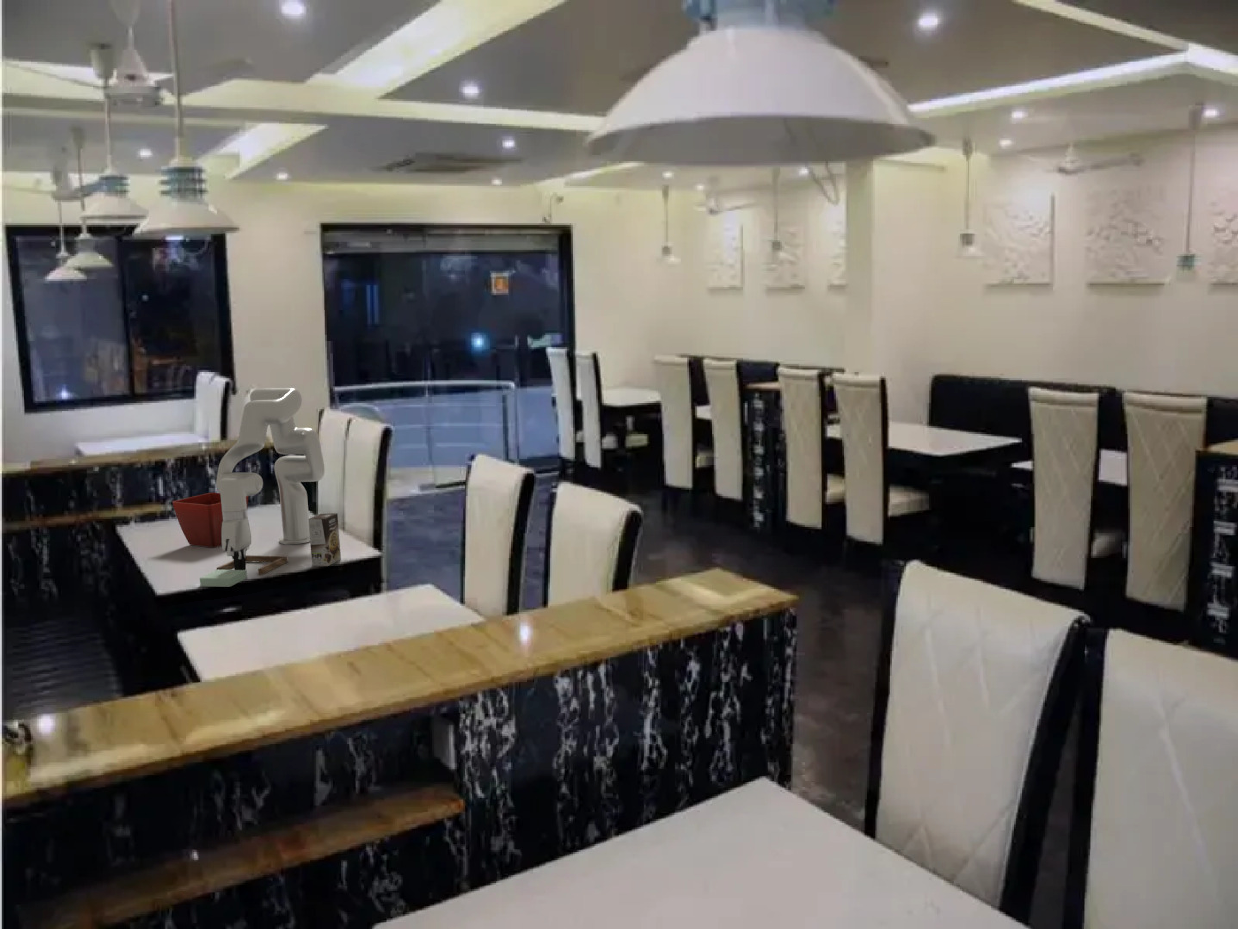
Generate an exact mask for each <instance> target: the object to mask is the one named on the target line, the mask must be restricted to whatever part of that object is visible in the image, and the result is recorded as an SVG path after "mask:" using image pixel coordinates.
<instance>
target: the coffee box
mask: <svg viewBox="0 0 1238 929" xmlns="http://www.w3.org/2000/svg"><path fill="white" fill-rule="evenodd" d="M309 532H310V542H309V543H310V546H309V547H310V555H311V566H315V567H316V566H317V567H319V566H321V567H328V566H331V565H333V564H335V563H336V562H338V561H340V560H342V554H341V553H342V552H341V542H340V529H339V516H338V513H336V512H335V513H330V512H329V513H328V512H327V513H320V514H316V515H314V516H312V517H309Z"/></svg>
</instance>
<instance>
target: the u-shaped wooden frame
mask: <svg viewBox="0 0 1238 929" xmlns="http://www.w3.org/2000/svg"><path fill="white" fill-rule="evenodd" d="M245 561H259V562H258V563H267V564H265V565H263V566H262V567H259V568H258V569H257V572H258V576H263V575H265V574H266V573H269V572H271V571H272V570H275V569H276V568H278V567H280V565H281V566H282V564H283V565H285V564H287V563H288V556H284V555H256V554H255V555H253V554H252V555H250V554H249V555H248V554H246V557H245ZM233 567H234V560H233V559H232V560H231V561H229V562H226V563H224V564H222V565H219V566H217V567H216V570H232V569H234V568H233Z"/></svg>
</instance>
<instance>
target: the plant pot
mask: <svg viewBox="0 0 1238 929" xmlns="http://www.w3.org/2000/svg"><path fill="white" fill-rule="evenodd" d="M246 504H247V507H248V506H249V505H248V504H249V496H246ZM172 506H173V509H174V510H173V511H174V513H175V516H176V519H177V522H178V524H179V526H180V529H181V531H182V532H183V535H184V537H185V539H186V541H187V542H188V544H189V545H190V546H198V547H206V548H212V547H213V548H217V546H218V547H222V522H223V515H222V505H221V495H220V493H219V492H208V493H204V494H200V495H196V496H195V495H194V496H190V497H187V498H182V499H178V500H174V501H173V500H172Z"/></svg>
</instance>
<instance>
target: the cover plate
mask: <svg viewBox="0 0 1238 929" xmlns="http://www.w3.org/2000/svg"><path fill="white" fill-rule="evenodd" d="M247 573H248V572H247V569H246V570H234V569H229V570H217V569H216V570H214V571H212V572H210V573H207V574H206V575H204V576H202V577H199V584H200V587H218V588H219V587H224V588H226V587H228V588H229V587H232V586H234V585H236V584H238V583H240V582H243V581H244V580H246V579H247V578H248V574H247Z"/></svg>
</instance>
